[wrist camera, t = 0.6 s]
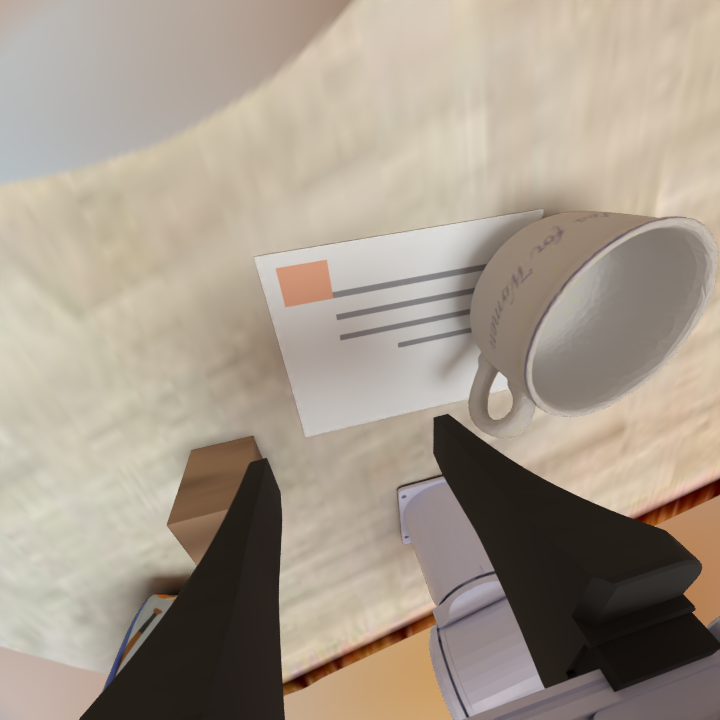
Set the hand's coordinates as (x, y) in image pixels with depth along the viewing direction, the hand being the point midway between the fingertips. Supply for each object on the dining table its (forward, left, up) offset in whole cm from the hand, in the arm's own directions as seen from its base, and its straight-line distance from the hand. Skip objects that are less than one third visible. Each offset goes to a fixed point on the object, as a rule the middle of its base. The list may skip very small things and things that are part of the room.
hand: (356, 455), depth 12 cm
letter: (-1, -6, -10) cm, 12 cm away
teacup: (0, -13, -10) cm, 17 cm away
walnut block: (-9, +9, -10) cm, 16 cm away
